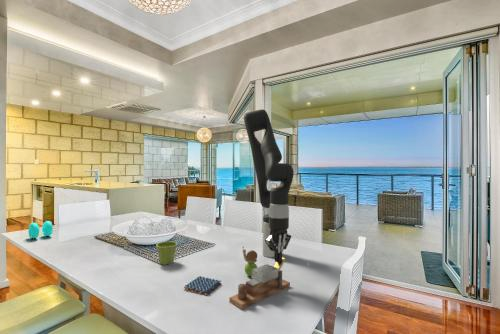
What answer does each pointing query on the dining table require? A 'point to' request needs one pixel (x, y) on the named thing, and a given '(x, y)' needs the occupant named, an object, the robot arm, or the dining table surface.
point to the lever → (279, 264)
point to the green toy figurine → (250, 261)
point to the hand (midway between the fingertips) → (278, 261)
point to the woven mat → (202, 285)
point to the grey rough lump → (264, 273)
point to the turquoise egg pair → (46, 229)
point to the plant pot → (166, 252)
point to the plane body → (257, 291)
